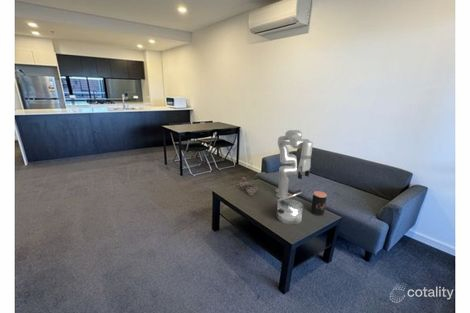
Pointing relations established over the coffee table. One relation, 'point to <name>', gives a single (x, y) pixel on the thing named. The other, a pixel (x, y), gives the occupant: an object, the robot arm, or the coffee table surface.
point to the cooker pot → (289, 211)
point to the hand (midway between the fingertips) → (303, 177)
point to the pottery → (251, 188)
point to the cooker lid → (291, 195)
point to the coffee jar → (318, 203)
